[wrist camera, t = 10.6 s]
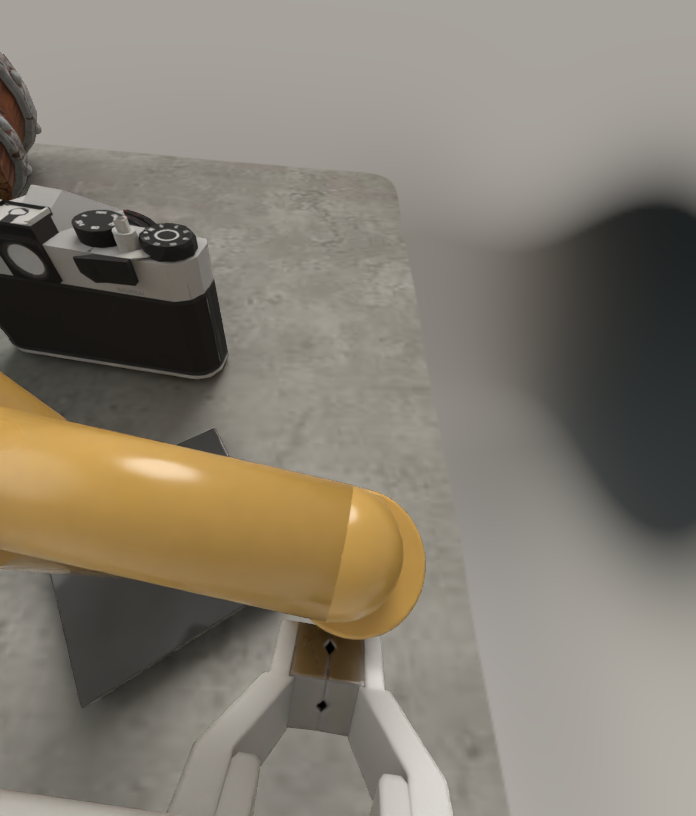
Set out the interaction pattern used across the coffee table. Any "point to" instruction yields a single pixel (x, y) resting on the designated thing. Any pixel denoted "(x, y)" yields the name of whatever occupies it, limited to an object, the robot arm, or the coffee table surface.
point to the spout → (203, 522)
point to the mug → (15, 131)
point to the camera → (107, 286)
